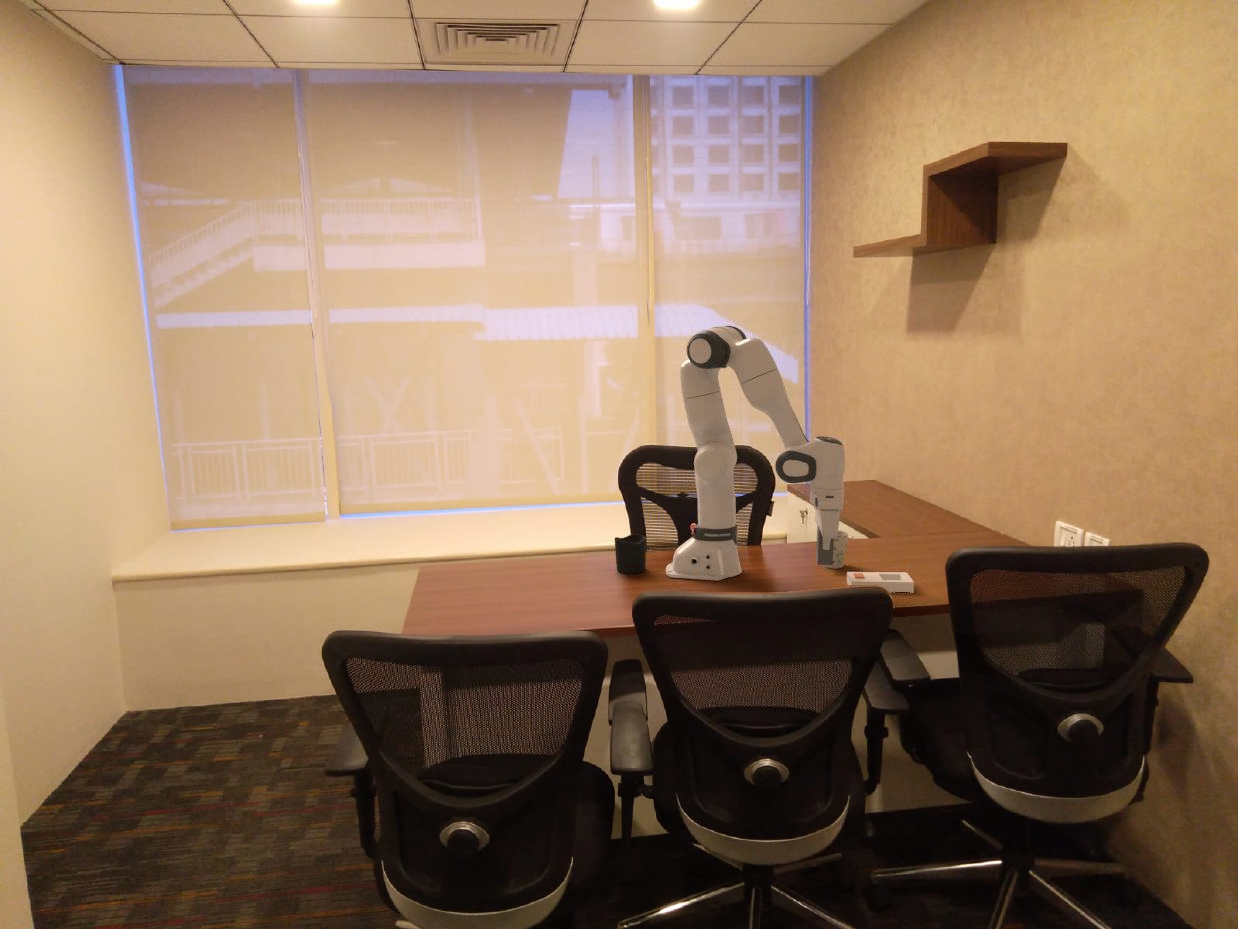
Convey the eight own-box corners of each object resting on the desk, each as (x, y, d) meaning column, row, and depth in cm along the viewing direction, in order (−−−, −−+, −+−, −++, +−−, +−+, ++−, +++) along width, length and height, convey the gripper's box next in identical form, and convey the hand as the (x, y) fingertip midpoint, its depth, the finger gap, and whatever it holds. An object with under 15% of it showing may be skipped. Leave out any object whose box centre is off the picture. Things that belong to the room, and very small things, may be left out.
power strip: (851, 592, 216) (851, 579, 215) (846, 582, 224) (847, 570, 224) (913, 593, 213) (914, 580, 213) (906, 582, 222) (906, 570, 222)
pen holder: (643, 575, 238) (642, 542, 236) (612, 574, 240) (611, 541, 238) (649, 566, 247) (648, 534, 245) (619, 565, 249) (618, 534, 247)
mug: (847, 562, 244) (848, 530, 242) (847, 574, 232) (848, 540, 230) (819, 561, 246) (819, 529, 244) (818, 573, 234) (818, 539, 232)
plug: (817, 564, 219) (818, 528, 217) (815, 560, 222) (817, 525, 221) (832, 565, 218) (834, 529, 216) (830, 561, 222) (832, 525, 220)
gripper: (810, 489, 228) (809, 536, 230) (818, 504, 208) (816, 556, 210) (833, 489, 227) (831, 537, 229) (843, 504, 207) (841, 557, 209)
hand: (824, 546), depth 220 cm, fingers closed on plug, 4 cm apart
